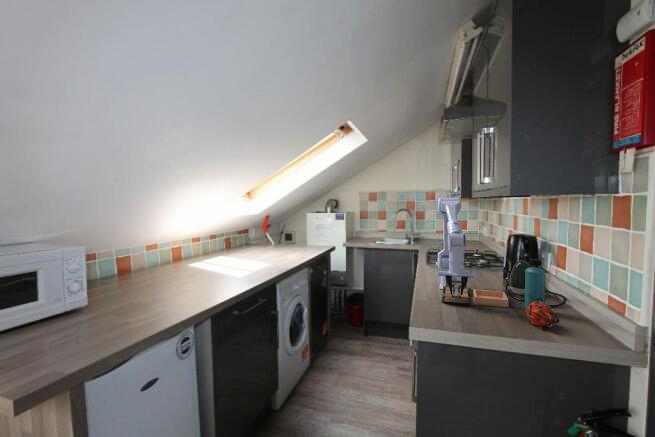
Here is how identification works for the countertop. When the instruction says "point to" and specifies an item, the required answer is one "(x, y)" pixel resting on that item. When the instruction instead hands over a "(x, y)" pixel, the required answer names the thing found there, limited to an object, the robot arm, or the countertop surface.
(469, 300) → the trolley
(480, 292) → the tray
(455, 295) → the pin
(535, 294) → the teal bottle
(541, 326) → the dragon fruit
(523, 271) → the pump dispenser
